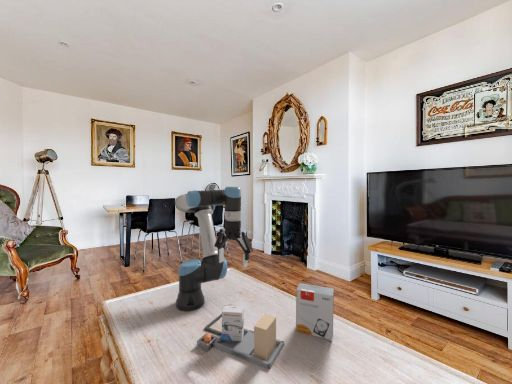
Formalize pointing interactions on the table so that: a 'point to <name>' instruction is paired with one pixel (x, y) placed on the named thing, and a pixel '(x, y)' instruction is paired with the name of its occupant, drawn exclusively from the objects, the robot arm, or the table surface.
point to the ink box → (232, 323)
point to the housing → (205, 345)
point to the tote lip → (212, 324)
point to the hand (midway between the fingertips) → (233, 264)
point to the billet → (265, 337)
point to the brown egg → (207, 338)
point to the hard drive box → (315, 310)
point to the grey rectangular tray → (247, 348)
